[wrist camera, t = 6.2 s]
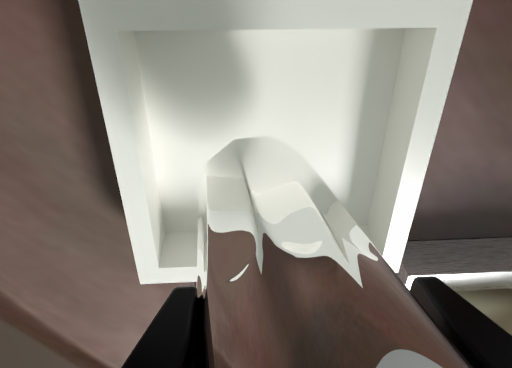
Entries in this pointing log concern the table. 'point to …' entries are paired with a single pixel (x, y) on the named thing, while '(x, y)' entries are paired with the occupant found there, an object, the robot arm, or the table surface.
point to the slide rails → (460, 263)
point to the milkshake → (298, 274)
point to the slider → (492, 305)
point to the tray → (270, 104)
